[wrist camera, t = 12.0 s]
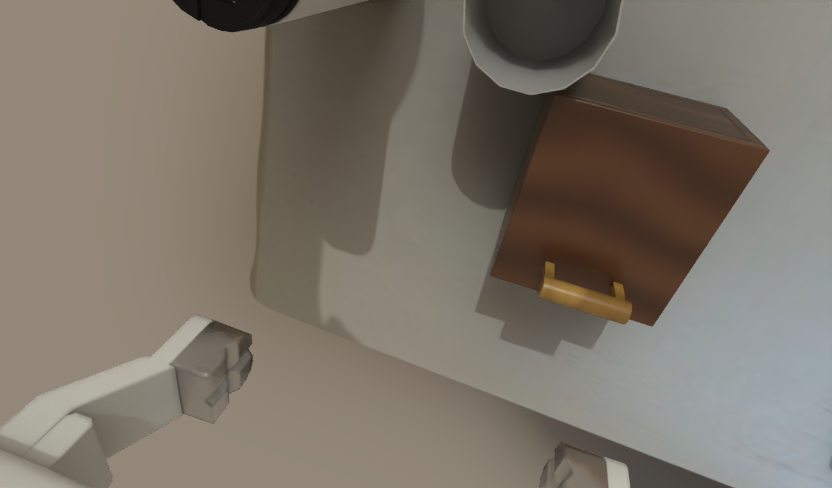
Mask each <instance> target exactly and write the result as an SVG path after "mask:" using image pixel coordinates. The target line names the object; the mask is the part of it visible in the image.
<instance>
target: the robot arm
mask: <svg viewBox="0 0 832 488" xmlns="http://www.w3.org/2000/svg"><path fill="white" fill-rule="evenodd" d="M251 344H252V335H251V334H249V333H246V332H243V331H241V330H238V329H235V328H233V327H231V326H228V325H225V324H223V323H220V322H217V321H215V320H212V319H209V318H206V317H204V316H200V315H196V316H193V317H192V318H190V319H189V320H188V321H187V322H186V323H185V324H184V325H183V326H182V327H181V328H180V329H179V330H178V331H177V332H176V333H175V334H174V335H173V336H172V337H171V338H170V339H169V340H168V341H167V342H166V343H164V344H163V345H162V346H161V347H160V348H159V349H158V350H157V351H156V352H155V353H154V354H153V355H152V356H151V357H147V356H143V357H141V358H138V359H135V360H132V361H130V362H127V363H124V364H122V365H119V366H116V367H113V368H111V369H108V370H106V371H103V372H100V373H97V374H94V375H92V376H89V377H86V378H84V379H81V380H78V381H76V382H73V383H70V384H67V385H65V386H62V387H59V388H57V389H54V390H51V391H49V392H46V393H43V394H40V395H38V396H37V397H35V398H34V399H33V400H32V401H31V402H30V403H28V404H27V405H26V406H25V407H24V408H22V409H21V410H20V411H19V412H18V413H17V414H15V415H14V416H13V417H12V418H11V419H9V420H8V421H7V422H6V423H5V424H3V425H2V426H1V427H0V488H108V487H109V486H110V484H111V483H112V473H111V470H110V468H109V465H108V462H107V458H109V457H110V456H112V455H114V454H116V453H117V452H119V451H121V450H123V449H125V448H126V447H128V446H130V445H132V444H133V443H135V442H137V441H139V440H140V439H142V438H144V437H146V436H147V435H149V434H151V433H153V432H155V431H156V430H158V429H160V428H162V427H163V426H165V425H167V424H169V423H170V422H172V421H174V420H175V419H177V418H179V417H181V416H182V415H183V414H186V415H189V416H192V417H195V418H197V419H200V420H203V421H206V422H209V423H212V424H214V423H215V421H216V420H217V419H218V417H219V416H220V415H221V413H222V412H223V411H224V409H225V408H226V407H227V405H228V404H229V394H230V393H232V392H234V391H236V390H239V389H240V388H241V386H242V385H243V383H244V382H245V381H246V379H247V377H248V374H249V372H250V370H251V366H252V362H253V360H252V359H253V357H252V356H253V355H252V354H251V352H250V351H249V349H248V348H249V347H250V345H251ZM182 413H183V414H182ZM539 488H630V481H629V474H628V468H627V467H626V465H625V464H624V463H621V462H618V461H615V460H612V459H609V458H607V457H603V456H602V455H599V454H596V453H593V452H590V451H587V450H585V449H582V448H579V447H576V446H573V445H570V444H567V443H563V442H561V443H559V444H558V445H557V447H556V448H555V457H554V458H553V459H550V460H548V461H547V463H546V465H545V467H544V469H543V472H542V475H541V478H540V485H539Z"/></svg>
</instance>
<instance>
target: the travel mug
mask: <svg viewBox="0 0 832 488" xmlns="http://www.w3.org/2000/svg"><path fill="white" fill-rule="evenodd" d="M173 1H174V2H175V3H176V4H177V5H178V6H179V8H180V9H181V10H183V11H185V12H186V13H187V14H189V15H190V16H192V17H194V18H195V19H197V20H198V21H200V20H202V21H203V22H204V23H206V24H207V25H208V26H210V27H213V28H215V29H218V30H221V31H227V32H237V31H243V30H249V29H255V28H258V27H267V26H272V25H275V24H280V23H284V22H287V21H291V20H295V19H299V18H303V17H307V16H310V15H314V14H318V13H322V12H326V11H330V10H333V9H337V8H341V7H345V6H349V5H353V4H356V3H360V2H364V1H368V0H173Z"/></svg>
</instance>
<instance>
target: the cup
mask: <svg viewBox="0 0 832 488" xmlns="http://www.w3.org/2000/svg"><path fill="white" fill-rule="evenodd" d="M623 2H624V0H463V35H464V38H465V40H466V43H467V45H468V48H469V50H470V53H471V55H472V57H473V60H474V62H475V65H476V66H477V67H478V68H479V69H481V70H482V71H483V72H484V73H485V74H486V75H487V76H488V77H489V78H491V79H492V80H493V81H494V82H495V83H496V84H497V85H498V86H499V87H503V88H506V89H510V90H513V91H517V92H521V93H524V94H528V95H535V94H540V93H546V92H551V91H557V90H563V89H565V88H567V87H568V86H570V85H571V84H573V83H574V82H576V81H577V80H579V79H580V78H582V77H583V76H585V75H586V74H588V73H589V72H591V71H592V70H594V69H595V68H596V67H597V65H598V64H599V62H600V61H601V59H602V57H603V56H604V54H605V53H606V51H607V50H608V48H609V47H610V45H611V44H612V42H613V41H614V39H615V38H616V36H617V34H618V29H619V24H620V18H621V13H622V8H623Z"/></svg>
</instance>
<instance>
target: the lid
mask: <svg viewBox="0 0 832 488" xmlns="http://www.w3.org/2000/svg"><path fill="white" fill-rule="evenodd" d="M769 151H770V150H769V149H768V148H767V147H766V146H764V145H760V144H756V143H752V142H749V141H745V140H741V139H737V138H733V137H730V136H726V135H722V134H718V133H714V132H710V131H707V130H703V129H699V128H695V127H691V126H688V125H684V124H680V123H676V122H672V121H668V120H665V119H661V118H657V117H653V116H649V115H645V114H642V113H638V112H634V111H630V110H626V109H623V108H619V107H615V106H611V105H607V104H603V103H600V102H596V101H592V100H588V99H584V98H580V97H577V96H573V95H569V94H565V93H561V92H558V91H555V92H554V94H553V97H552V99H551V102H550V105H549V108H548V111H547V114H546V116H545V119H544V122H543V125H542V128H541V131H540V133H539V136H538V139H537V142H536V145H535V148H534V150H533V153H532V156H531V159H530V162H529V165H528V167H527V170H526V173H525V176H524V179H523V182H522V184H521V187H520V190H519V193H518V196H517V199H516V201H515V204H514V207H513V210H512V213H511V216H510V218H509V221H508V224H507V227H506V230H505V233H504V235H503V238H502V241H501V244H500V247H499V250H498V252H497V255H496V258H495V261H494V264H493V267H492V269H491V273H490V276H493V277H496V278H499V279H502V280H506V281H509V282H512V283H515V284H518V285H522V286H525V287H528V288H531V289H534V290H538V291H537V297H538V298H541V299H544V300H547V301H551V302H554V303H557V304H560V305H563V306H566V307H570V308H573V309H576V310H579V311H582V312H586V313H589V314H592V315H595V316H598V317H601V318H605V319H608V320H611V321H614V322H617V323H620V324H626V323H627V322H628V320H629V319H630V320H633V321H636V322H640V323H643V324H646V325H649V326H653V325H654V324H655V322H656V321H657V319H658V318H659V316H660V315H661V313H662V312H663V310H664V309H665V307H666V306H667V304H668V303H669V301H670V300H671V298H672V297H673V295H674V294H675V292H676V291H677V289H678V288H679V286H680V285H681V283H682V282H683V280H684V279H685V277H686V276H687V274H688V273H689V271H690V270H691V268H692V267H693V265H694V264H695V262H696V261H697V259H698V258H699V256H700V255H701V253H702V252H703V250H704V249H705V247H706V246H707V244H708V243H709V241H710V240H711V238H712V237H713V235H714V234H715V232H716V231H717V229H718V228H719V226H720V225H721V223H722V222H723V220H724V219H725V217H726V216H727V214H728V213H729V211H730V210H731V208H732V207H733V205H734V204H735V202H736V201H737V199H738V198H739V196H740V195H741V193H742V192H743V190H744V189H745V187H746V186H747V184H748V183H749V181H750V180H751V178H752V177H753V175H754V174H755V172H756V171H757V169H758V168H759V166H760V165H761V163H762V162H763V160H764V159H765V157H766V156H767V154H768V153H769Z"/></svg>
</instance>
